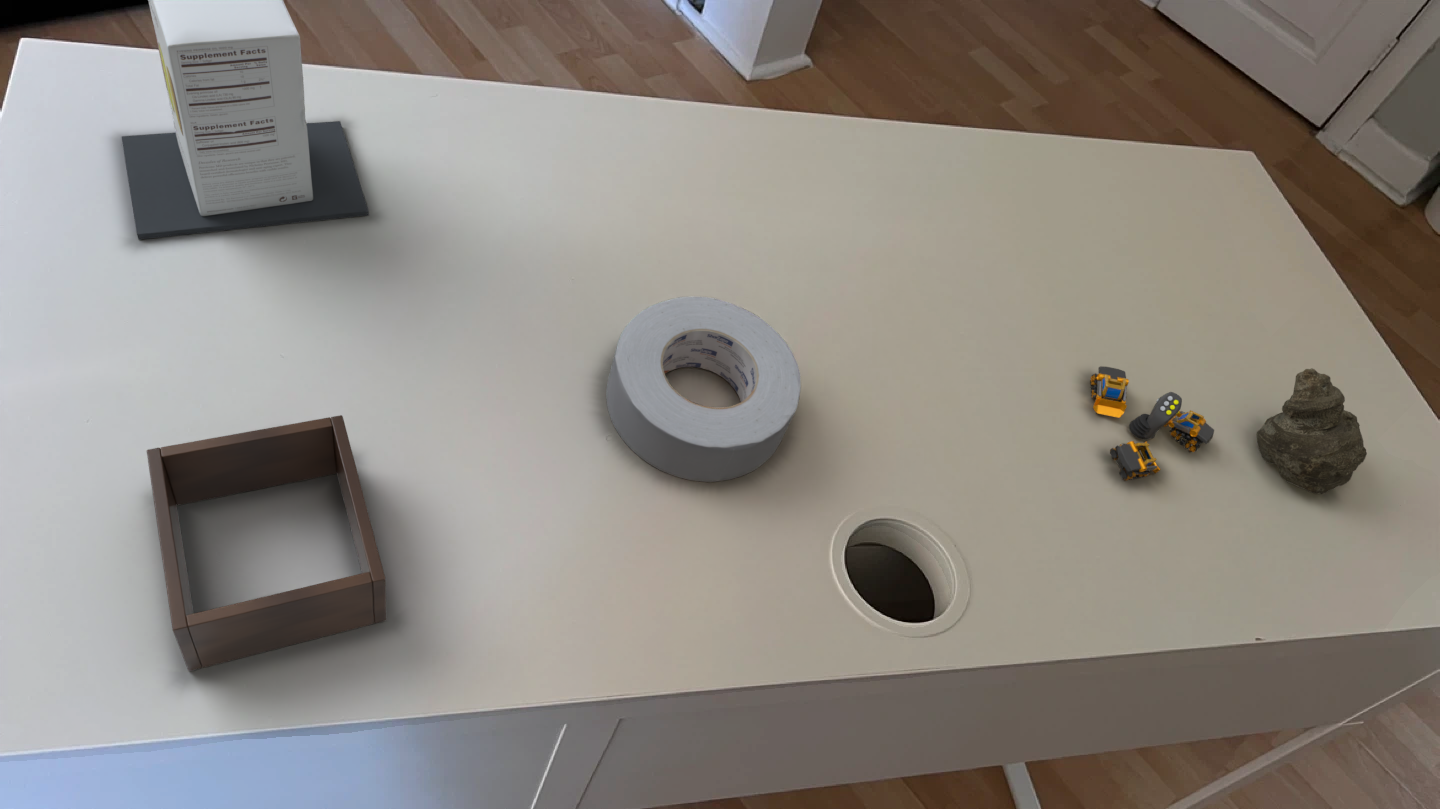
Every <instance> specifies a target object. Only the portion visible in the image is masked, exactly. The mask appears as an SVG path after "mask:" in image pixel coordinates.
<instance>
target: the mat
mask: <svg viewBox="0 0 1440 809" xmlns="http://www.w3.org/2000/svg"><path fill="white" fill-rule="evenodd" d="M306 125H307V133H308V144H309V156H310V168H311V180H312V190H313V200H312V201H307V202H300V203H293V204H287V205H280V206H273V207H265V208H259V209H252V210H245V211H238V212H231V213H224V214H217V215H209V216H201V215H200V213H199V210H198V207H197V204H196V201H195V198H194V194H193V191H192V188H191V185H190V182H189V179H188V176H187V172H186V169H185V165H184V162H183V159H182V155H181V152H180V148H179V145H178V141H177V136H176V132H165V133H164V132H163V133H148V134H133V135H122V136H121V137H120V138H121V143H122V149H123V156H124V161H125V162H124V163H125V168H126V174H127V182H128V188H129V193H130V194H129V195H130V199H131V205H132V211H133V219H134V224H135V232H136V236H137V239H138V240H149V239H156V238H168V237H175V236H184V235H195V234H203V233H213V232H224V231H232V230H241V229H251V228H260V227H261V228H262V227H271V226H279V225H280V226H281V225H290V224H298V223H300V224H301V223H310V222H317V221H326V220H327V221H328V220H337V219H346V218H355V217H365V216H369V215H370V214H369V208H368V205H367V201H366V198H365V196H364V191H363V189H362V186H361V182H360V179H359V176H358V173H357V170H356V166H355V164H354V161H353V157H352V154H351V150H350V148H349V145H348V142H347V141H348V140H347V138H346V135H345V132H344V129H343V125H342V123H341V120H336V121H335V120H334V121H321V122H306Z"/></svg>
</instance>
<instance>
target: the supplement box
mask: <svg viewBox="0 0 1440 809" xmlns="http://www.w3.org/2000/svg"><path fill="white" fill-rule="evenodd" d="M147 1H148V5H149V10H150V15H151V20H152V25H153V30H154V34H155V39H156V44H157V48H158V54H159V59H160V64H161V68H162V73H163V78H164V83H165V87H166V88H165V89H166V93H167V97H168V101H169V106H170V107H169V108H170V111H171V116H172V120H173V126H174V131H175V132H174V133H176V136H177V141H178V145H179V148H180V152H181V155H182V159H183V162H184V165H185V169H186V172H187V176H188V179H189V182H190V185H191V188H192V191H193V194H194V198H195V201H196V204H197V207H198V210H199V213H200V215H201V216H209V215H217V214H224V213H231V212H238V211H245V210H252V209H259V208H265V207H273V206H280V205H287V204H293V203H300V202H307V201H312V200H313V190H312V180H311V168H310V156H309V144H308V133H307V125H306V123H307V120H306V105H305V87H304V72H303V60H302V46H301V35H300V34H299V32H298V29H297V27H296V26H295V23H294V21H293V19H292V17H291V15H290V12H289V10H288V8H287V6H286V4H285V1H284V0H147Z"/></svg>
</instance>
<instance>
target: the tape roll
mask: <svg viewBox="0 0 1440 809" xmlns="http://www.w3.org/2000/svg"><path fill="white" fill-rule="evenodd" d="M614 351H615V352H614V355H613V358H612V363H611V366H610V371H609V374H608V378H607V382H606V387H605V388H606V391H605V398H606V399H605V400H606V406H607V411H608V415H609V418H610V420H611V423H612V426H613V427H614V428H615V430H616V432H617V434H618V435H619V437H620V438H621V440H622V441H623V442H624V443H625V445H626V446H627V447H628V448H629V449H630V450H631V451H632V452H633V453H635V454H636V456H638V457H639V458H640V459H642V460H643V461H645V463H647V464H648V465H650V466H652V467H654V468H656V469H657V470H659V471H661V472H664V473H665V474H669V475H671V476H674V477H677V478H680V479H684V480H688V481H694V482H703V483H704V482H705V483H714V482H722V481H723V482H724V481H728V480H732V479H737V478H741V477H743V476H746V475H748V474H750V473H752V472H754V471H755V470H757V469H758V468H760V467H761V466H763V465H764V464H765V463H766V462H767V461H768V460H769V459H770V458H771V457H772V456H773V455H774V454H775V452H776V451H777V449H778V448H779V446H780V444H781V442H782V440H783V438H784V436H785V434H786V432H787V429H788V428H789V425H790V423H791V421H792V419H793V418H794V416H795V414H796V412H797V409H798V407H799V402H800V397H801V391H802V385H801V384H802V382H801V378H802V377H801V372H800V367H799V364H798V361H797V359H796V357H795V355H794V352H793V350H792V349H791V348H790V345H789V344H788V343H787V342H786V341H785V340H784V338H783V337H782V336H781V334H779V333H778V332H777V331H776V330H775V328H774V327H773V326H771V325H770V324H768V322H766V321H765V320H764V319H763V318H761V317H760V316H758V315H756V314H755V313H753V312H752V311H750V310H747V309H746V308H743V307H741V306H739V305H737V304H734V303H732V302H729V301H726V300H722V299H719V298H716V297H708V296H695V295H694V296H693V295H692V296H677V297H675V298H670V299H666V300H663V301H660V302H656V303H654V304H652V305H650V306H648V307H646V308H645V309H642V310H641V311H640V312H639V313H637V314H636V315H635V316H634V317H633V318H632V319H631V320H630V321H629V322H628V323H627V324H626V325H625V326H624V328H623V330H622V332H620V335H619V338H618V340H617V343H616V346H615V350H614ZM690 367H691V368H698V369H703V370H707V371H710V372H711V373H712V372H713V373H714V374H716V375H718V376H720V377H721V378H723V379H724V380H725V381H727V383H729V384H730V386H731V387H732V389H734V391H735V392H736V394H737V396H738V398H739V401H740V402H739V403H737V404H734V405H730V406H724V407H714V406H713V407H712V406H705V405H701V404H698V403H695V402H693V401H691V400H689V399H688V398H686V397H685V396H684V395H681V394H680V393H679V392H678V391H677V390H676V389H675V388H674V387H673V386H672V385H671V383H670V381H669V379H668V378H667V376H666V374H667V373H669V372H671V371H673V370H677V369H680V368H681V369H682V368H690Z"/></svg>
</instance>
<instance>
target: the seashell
mask: <svg viewBox="0 0 1440 809" xmlns="http://www.w3.org/2000/svg"><path fill="white" fill-rule="evenodd" d="M1292 391H1293V393H1292V395H1291V396H1290V398H1289V399H1286V400H1285V401H1284V403H1283V405H1282V408H1281V412H1279V413H1276V414H1275V415H1273V416H1270V417H1269V418H1266V420H1265V422H1264V424H1263V425H1262V426H1261V428H1260V429H1258V431H1256V442H1257V447H1258V450H1259V453H1260V455H1261V458H1262V459H1263V460H1264V461H1265V463H1270V464H1274V465H1276V466H1277V468H1278V471H1279V472H1278V473H1279V475H1280V477H1281V478H1282V479H1283V480H1284V481H1286V482H1287V483H1290V484H1292V485H1294V486H1296V487H1298V488H1300V489H1303V490H1305V491H1307V492H1309V493H1312V494H1315V495H1317V494H1318V495H1319V494H1321V495H1323V494H1326V493H1328V492H1329V491H1332V490H1335V489H1336V488H1338V487H1342V486H1343V485H1345V484H1347V483H1349V481H1350V480H1351V479H1352V477H1353V474H1354V472H1355V471H1357V469H1358V468H1359V466H1360V465H1361V464H1363V463H1364V461H1365V460H1366V457H1367V454H1368V453H1367V448H1366V447H1365V445H1364V438H1363V435H1362V431H1361V427H1360V426H1361V425H1360V423H1359V422H1358V417H1357V415H1355V414H1353V413H1352V412H1351V411H1348V410H1345V405H1344V403H1345V401H1346V398H1345V395H1344V393H1343V392H1342V391H1341V389H1340V388H1338V387H1337V386H1335V385H1334V384H1333V383H1332V381H1331V376H1330V375H1328V374H1326V373H1320V372H1318V371H1317V370H1316V369H1315V368H1313V367H1312V368H1305V369H1304V370H1303V371H1300V372H1298V373H1296V375H1295V380H1294V387H1293V390H1292ZM1400 506H1401V505H1400Z"/></svg>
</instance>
